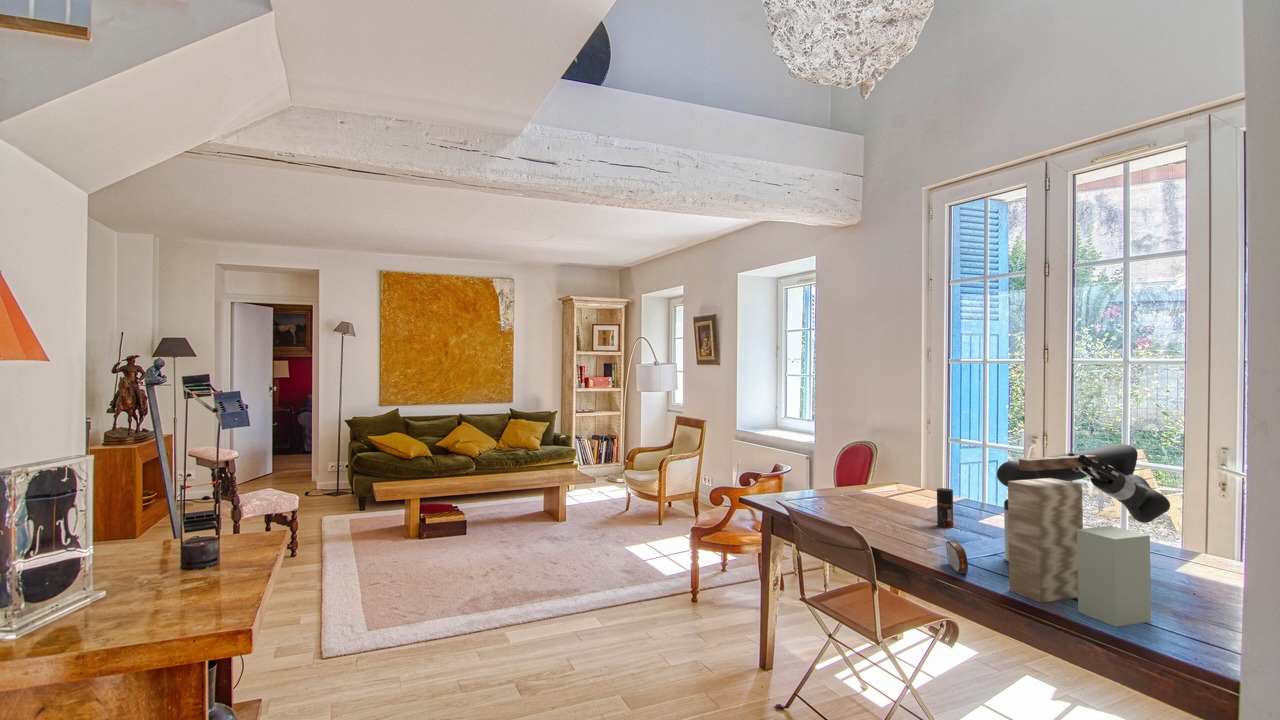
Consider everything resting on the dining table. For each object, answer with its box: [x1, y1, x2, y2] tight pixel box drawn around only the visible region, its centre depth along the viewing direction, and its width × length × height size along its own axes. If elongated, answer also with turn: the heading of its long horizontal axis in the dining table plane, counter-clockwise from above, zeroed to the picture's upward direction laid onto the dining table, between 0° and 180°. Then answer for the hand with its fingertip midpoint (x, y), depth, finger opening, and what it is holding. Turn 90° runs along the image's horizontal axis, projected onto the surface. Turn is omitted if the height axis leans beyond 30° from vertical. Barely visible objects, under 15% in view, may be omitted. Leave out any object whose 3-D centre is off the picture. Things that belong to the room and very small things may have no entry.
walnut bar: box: [1018, 455, 1098, 471], centre depth 181 cm, size 26×3×3 cm, turn 106°
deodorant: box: [936, 487, 954, 529], centre depth 255 cm, size 6×6×15 cm
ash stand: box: [1007, 478, 1084, 603], centre depth 180 cm, size 16×10×32 cm, turn 106°
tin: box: [945, 539, 969, 575], centre depth 201 cm, size 15×3×8 cm, turn 168°
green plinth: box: [1077, 525, 1152, 628], centre depth 163 cm, size 12×10×22 cm
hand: (1074, 456), depth 183 cm, fingers closed on walnut bar, 3 cm apart
